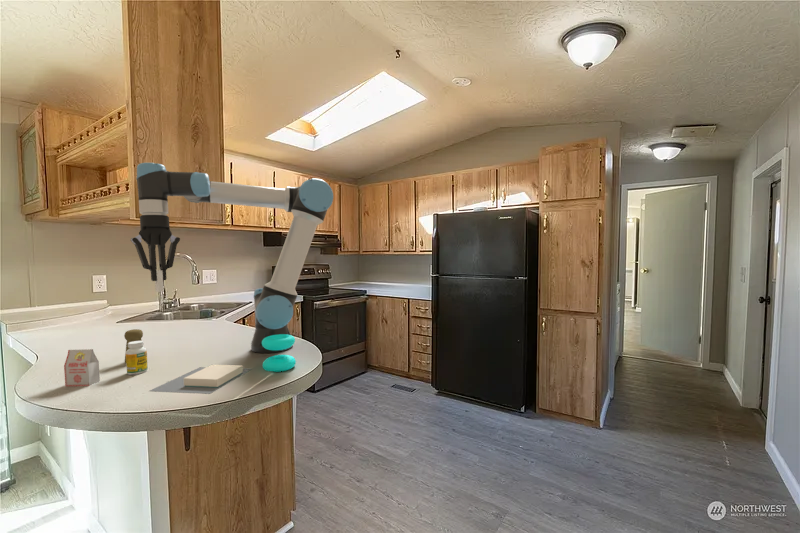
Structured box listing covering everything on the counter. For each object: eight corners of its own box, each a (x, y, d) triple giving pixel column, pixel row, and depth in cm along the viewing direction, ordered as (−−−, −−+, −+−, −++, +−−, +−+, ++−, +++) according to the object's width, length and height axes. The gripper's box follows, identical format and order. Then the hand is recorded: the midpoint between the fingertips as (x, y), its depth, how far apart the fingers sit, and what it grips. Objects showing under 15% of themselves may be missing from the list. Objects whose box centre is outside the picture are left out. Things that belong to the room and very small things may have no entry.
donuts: (255, 340, 113) (271, 333, 123) (256, 372, 113) (272, 362, 123) (286, 341, 111) (300, 333, 121) (287, 373, 112) (301, 363, 122)
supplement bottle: (136, 369, 119) (135, 339, 118) (152, 369, 118) (150, 339, 118) (122, 375, 113) (120, 344, 113) (138, 375, 113) (136, 344, 112)
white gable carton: (76, 381, 108) (74, 348, 108) (99, 381, 108) (97, 347, 108) (65, 386, 105) (63, 351, 104) (89, 386, 105) (87, 351, 104)
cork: (134, 364, 124) (132, 332, 124) (119, 363, 125) (117, 331, 125) (150, 359, 130) (148, 328, 130) (135, 358, 131) (134, 327, 131)
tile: (183, 378, 101) (217, 379, 100) (212, 364, 113) (242, 365, 112) (184, 386, 101) (217, 387, 100) (212, 372, 113) (242, 373, 112)
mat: (148, 392, 99) (148, 391, 99) (200, 368, 118) (200, 367, 118) (210, 395, 96) (210, 393, 96) (252, 370, 116) (252, 368, 116)
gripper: (174, 216, 122) (179, 288, 123) (125, 215, 112) (131, 293, 113) (181, 214, 117) (186, 289, 118) (131, 213, 107) (137, 294, 108)
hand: (159, 291), depth 116 cm, fingers closed
